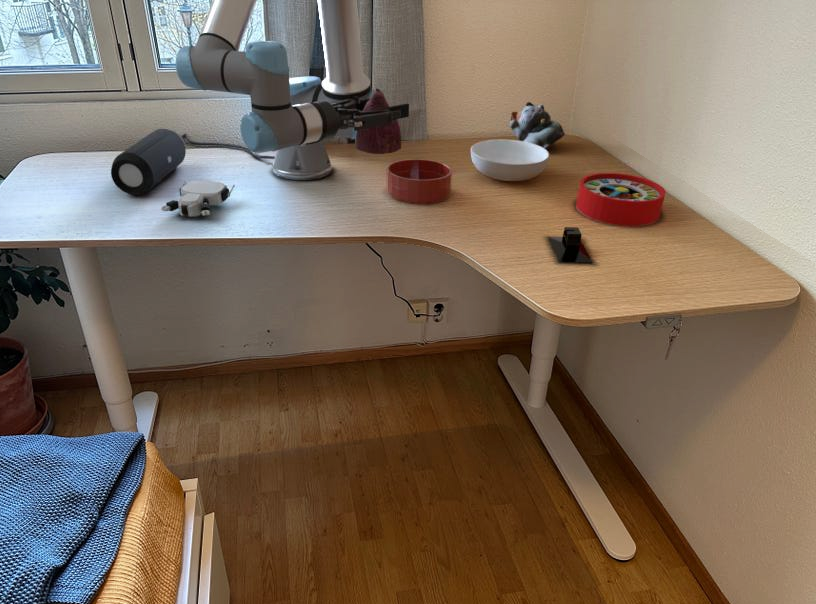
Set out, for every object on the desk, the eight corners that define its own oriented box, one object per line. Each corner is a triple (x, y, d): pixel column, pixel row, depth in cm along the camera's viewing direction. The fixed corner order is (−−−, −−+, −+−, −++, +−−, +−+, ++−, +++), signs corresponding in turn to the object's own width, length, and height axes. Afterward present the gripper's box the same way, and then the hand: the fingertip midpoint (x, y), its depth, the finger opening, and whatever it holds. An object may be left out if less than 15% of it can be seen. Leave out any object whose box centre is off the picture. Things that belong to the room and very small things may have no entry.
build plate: (547, 238, 145) (551, 218, 142) (580, 239, 145) (584, 219, 142) (558, 262, 135) (562, 241, 132) (593, 264, 135) (598, 242, 132)
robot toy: (211, 227, 145) (238, 198, 156) (208, 208, 142) (235, 180, 153) (160, 221, 146) (190, 193, 158) (155, 202, 143) (186, 175, 155)
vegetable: (393, 169, 148) (399, 107, 136) (349, 158, 148) (352, 96, 137) (405, 145, 154) (412, 84, 143) (363, 135, 155) (366, 73, 144)
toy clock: (678, 186, 158) (644, 208, 145) (672, 210, 162) (638, 233, 149) (603, 167, 169) (565, 186, 156) (598, 189, 172) (561, 209, 159)
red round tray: (373, 190, 165) (373, 167, 161) (418, 177, 174) (419, 155, 171) (417, 209, 156) (419, 185, 152) (463, 194, 165) (465, 171, 162)
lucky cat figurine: (534, 155, 194) (518, 109, 189) (513, 160, 205) (496, 117, 200) (573, 135, 198) (557, 89, 193) (549, 140, 209) (534, 97, 204)
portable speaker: (153, 199, 155) (144, 157, 149) (112, 196, 155) (102, 154, 149) (191, 165, 176) (185, 127, 170) (155, 163, 176) (148, 124, 170)
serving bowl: (458, 181, 173) (460, 155, 169) (482, 159, 189) (484, 135, 185) (535, 194, 167) (539, 167, 163) (553, 170, 183) (557, 146, 179)
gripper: (285, 129, 143) (365, 113, 156) (345, 152, 131) (426, 133, 145) (283, 93, 139) (365, 80, 152) (344, 114, 127) (427, 97, 140)
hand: (395, 106), depth 148 cm, fingers closed on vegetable, 8 cm apart
